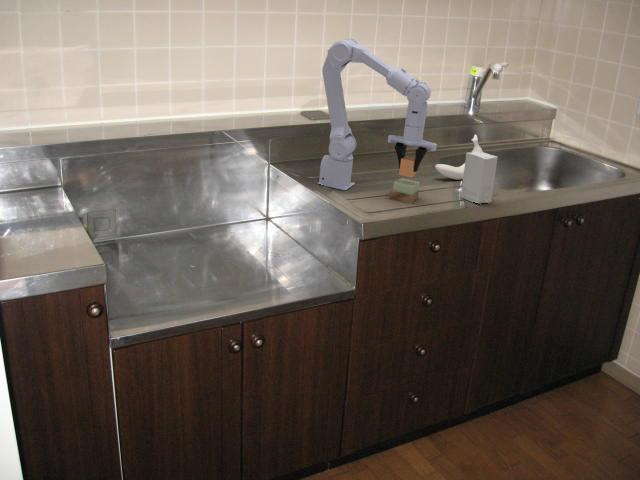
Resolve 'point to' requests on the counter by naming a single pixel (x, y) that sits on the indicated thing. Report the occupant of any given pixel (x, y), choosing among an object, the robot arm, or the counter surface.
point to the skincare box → (478, 177)
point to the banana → (457, 171)
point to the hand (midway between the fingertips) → (408, 169)
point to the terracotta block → (407, 167)
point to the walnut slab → (403, 196)
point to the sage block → (406, 186)
